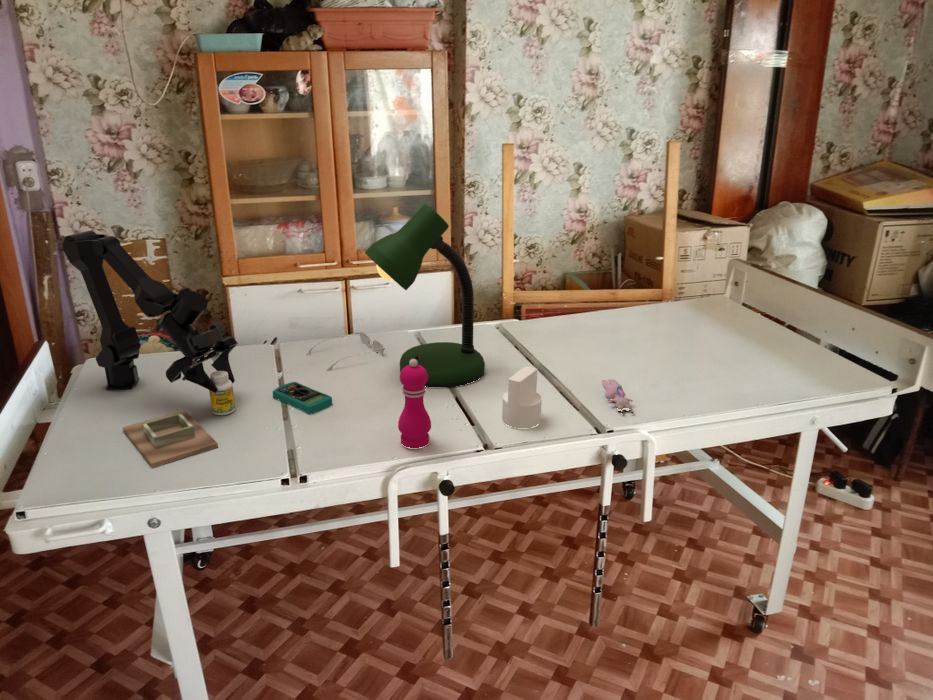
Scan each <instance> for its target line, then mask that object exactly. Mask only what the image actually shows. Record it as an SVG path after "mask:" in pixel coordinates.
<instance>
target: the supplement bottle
mask: <svg viewBox="0 0 933 700" xmlns="http://www.w3.org/2000/svg"><path fill="white" fill-rule="evenodd" d="M209 378H210V379H211V380H212V382H213V383H214V384H215V386H216V387H217V389H218V391H217V392H212V391H210V390H208V393H209V399H210V400H209V401H210V406H211V407H210V408H211V412H212V414H214V415H216V416H226V415H230V414H232V413H233V412H235V410H236V403H235V395H234V387H233V383H232V382H231V381H230V380H229V379H228V378H229V377H228V373H227V372H226V371H217V370H216V371H212V372H211V373H210V375H209Z"/></svg>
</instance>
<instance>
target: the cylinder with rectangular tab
mask: <svg viewBox="0 0 933 700" xmlns="http://www.w3.org/2000/svg"><path fill="white" fill-rule="evenodd" d="M537 384H538V368H535V367H532V366H526V365H525V366H524V367H522V368H521V369H520V370H519V371H517V372H516V373H514V374H513V375H512V376H510V377H509V378H508V384H507V385H508V388H507V391H506V392H504V393H503V395H502V405H501V406H502V408H501V409H502V410H501V415H502V416H501V421H502V420H503V422H504V423H505V424H507V425H509V426H512V427H516V428H531V427H533V426H536V425H537V424H539V423H540V424H541V421H540V420H542V419H541V417H542V416H541V415H542V401H543V399H542V395H540V393H538V392H537V387H538V385H537ZM503 422H502V423H503ZM504 423H503V424H504ZM505 424H504V425H505ZM540 424H539V425H540Z"/></svg>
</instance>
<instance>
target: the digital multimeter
mask: <svg viewBox="0 0 933 700" xmlns="http://www.w3.org/2000/svg"><path fill="white" fill-rule="evenodd" d="M272 398H273V399H274V398H276V399H275V400H277V399H279V400H280V401H279V400H278V401H279V402H282V403H284V404H287V405H289V404H290V405H289V406H291V405H292V406H291V407H294V408H297V409H298V408H299V409H298V410H300V409H301V410H300V411H302V410H303V411H302V412H304V413H306V414H309V415H311V413H312V414H314V412H315V413H317V412H319V411H321V410H324V409H326V408H328V407H329V406H332V405H333V397H332V396H330V395H328V394H326V393H323V392H320V391H319V390H315V389H313V388H311V387H310V386H309V387H308V386H306V385H303V384H302V383H299V382H297V381H291V382H288V383H285V384H282V385H280V386H279V387H277V388H275V389H274V390H272Z"/></svg>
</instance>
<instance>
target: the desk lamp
mask: <svg viewBox="0 0 933 700" xmlns="http://www.w3.org/2000/svg"><path fill="white" fill-rule="evenodd" d="M449 227H450V225H449V224H448V223H447V221H446V220H445V219H444V218H443V217H442V216H441V215H440V214H439V213H438V212H437V211H436V210H435V209H433V208H432V207H431V206H430V205H429V204H427V203H426V204H425V203H424V204H422V205H421V207H420V208H419V209H418V210H417V211H416V212H415V213H414V214H413V216H412V217H410V219H409V220H408V221H407V222H406V223H404V224H403V226H402V227H400V229H398V230H397V231H395V232H393V233H391V234H388V235H385V236H384V237H382V238H379V240H376V241H375V242H373V243H372V244H371V245H370V246H369V247H368V248H366V250H365V251H364V254H365V255H366V256H367V257H368V258H369V259H370V260H371V261H372V262H373V263H375V265H376V271H377V273H378V275H379V276H380V277H381V278H382V279H385V280H387V281H394V282H395V283H397V284H398V285H399V286H400V287H401V288H402V289H404V290H405V291H407V290H408V289H410V287H411V286H412V285H413V284H414V283H415V281H416V279H417V277H418V275H419V272H420V271H421V268H422V264H423V260H424V257H425V256H426V254H427V253H428V252H429V251H430V249H432V250H436V251H437V252H438V253H439V254H440V255H441V256H443V257H444V258H445V259H447V261H448V262H449V264H451V265H452V267H453V268H454V271H455V273H456V276H457V279H458V280H459V285H460V289H461V299H462V301H461V305H462V306H461V307H462V310H461V311H462V312H461V313H462V315H461V316H462V317H461V327H462V328H461V343H457V342H452V341H451V342H447V341H446V342H445V341H439V342H437V341H436V342H430V343H424V344H423V343H422V344H419V345H416V346H413V347H410V348H408V349H407V350H405V352H403V353H402V354H401V357H400V359H399V374H400V373H401V371H402V369H403V368H404V367H406V366H408V365H410V364H409V362H410V360H411V359H416V360H417V362H418V364H417V365H420V366H422V367H423V368H424V369H425V370H426V371H427V374H428V380H427V383H426V384H425V386H426V388H429V387H447V388H446V389H449V388H450V389H451V388H457V387H456V386H458V387H461V386H460V385H464V386H466V385H465V384H467V383H471V382H473V381H476V380H478V379H479V378H481V377H482V376H484V375H485V371H486V370H485V369H486V368H485V367H486V365H485V360H484V357H483V355H482V354H481V353H480V352H479V351H478V350H477V349H475V345H474V312H475V311H474V310H475V309H474V307H475V304H474V303H475V299H474V297H475V296H474V288H473V287H474V286H473V282H472V279H471V275H470V271H469V270H468V268H467V267H468V266H467V265H466V263H465V260H464V258H462V257H461V254H459V253H458V252H457V250H455V249H454V248H453V246H450V245H449V244H448V243H447V242H445V241H444V237H443V234H444V233H445V232H446V231H447V230H448V229H449ZM482 378H483V377H482ZM482 378H481V379H482ZM479 380H480V379H479ZM479 380H478V381H479ZM476 382H477V381H476ZM473 383H474V382H473ZM471 384H472V383H471ZM467 385H468V384H467Z"/></svg>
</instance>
